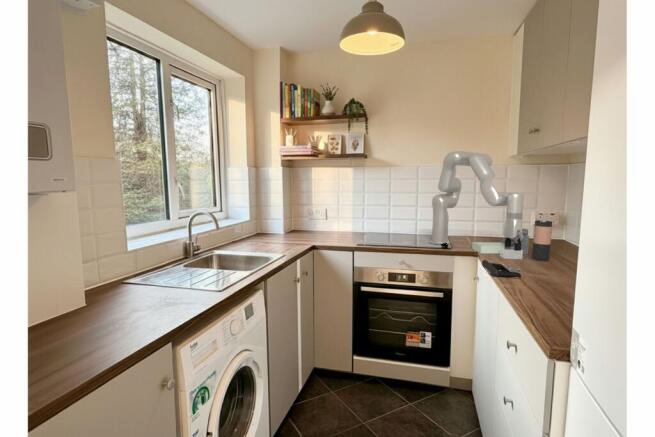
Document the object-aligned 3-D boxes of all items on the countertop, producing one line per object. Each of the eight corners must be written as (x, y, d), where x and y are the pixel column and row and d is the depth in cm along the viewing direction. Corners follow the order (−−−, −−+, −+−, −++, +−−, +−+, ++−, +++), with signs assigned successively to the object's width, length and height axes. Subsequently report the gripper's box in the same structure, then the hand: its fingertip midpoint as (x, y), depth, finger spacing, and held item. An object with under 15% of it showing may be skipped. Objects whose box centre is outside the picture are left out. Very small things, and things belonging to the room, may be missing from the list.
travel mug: (540, 261, 168) (544, 222, 166) (528, 258, 176) (531, 220, 173) (552, 260, 170) (556, 221, 168) (539, 257, 178) (542, 220, 175)
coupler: (472, 248, 198) (473, 227, 197) (519, 249, 198) (521, 227, 196) (480, 253, 186) (482, 230, 185) (531, 253, 186) (533, 230, 184)
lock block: (499, 256, 181) (500, 247, 180) (517, 256, 179) (518, 247, 179) (503, 258, 175) (504, 249, 174) (522, 259, 174) (523, 250, 173)
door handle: (515, 262, 157) (479, 259, 160) (532, 274, 138) (490, 270, 141) (514, 269, 158) (478, 265, 161) (531, 282, 138) (489, 277, 141)
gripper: (498, 214, 183) (497, 245, 185) (515, 218, 166) (514, 252, 168) (512, 214, 183) (511, 245, 185) (531, 218, 166) (529, 252, 167)
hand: (512, 248), depth 176 cm, fingers open, 9 cm apart
